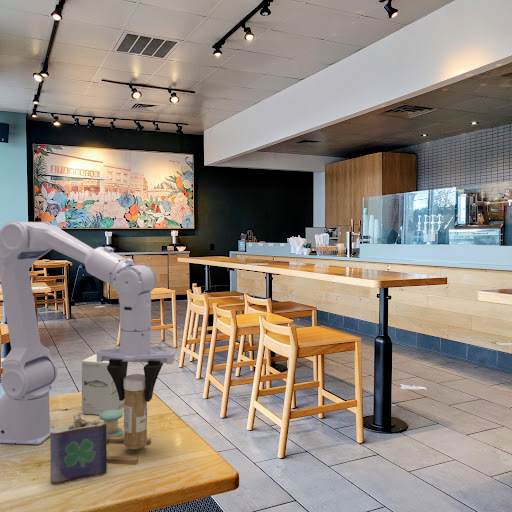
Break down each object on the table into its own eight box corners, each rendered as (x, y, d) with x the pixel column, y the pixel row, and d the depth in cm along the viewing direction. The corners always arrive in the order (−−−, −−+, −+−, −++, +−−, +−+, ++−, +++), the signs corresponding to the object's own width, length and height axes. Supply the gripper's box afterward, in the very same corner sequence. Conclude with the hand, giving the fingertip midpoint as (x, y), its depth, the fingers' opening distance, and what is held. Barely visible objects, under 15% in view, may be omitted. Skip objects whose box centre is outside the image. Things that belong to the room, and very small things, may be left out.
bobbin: (96, 438, 101) (95, 417, 101) (104, 429, 106) (104, 409, 106) (118, 439, 101) (117, 418, 101) (125, 430, 105) (125, 409, 105)
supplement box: (80, 414, 115) (80, 360, 114) (97, 403, 122) (97, 352, 121) (110, 417, 113) (109, 362, 112) (125, 406, 120) (125, 354, 120)
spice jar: (148, 448, 94) (148, 380, 93) (123, 451, 93) (123, 382, 92) (146, 437, 99) (147, 372, 97) (122, 439, 98) (123, 373, 96)
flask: (51, 486, 82) (50, 423, 82) (49, 478, 85) (49, 417, 85) (108, 474, 87) (107, 414, 86) (105, 467, 89) (104, 408, 89)
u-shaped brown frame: (84, 462, 91) (84, 457, 91) (104, 440, 101) (104, 436, 101) (135, 464, 90) (135, 460, 90) (151, 442, 100) (151, 438, 100)
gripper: (89, 332, 91) (90, 405, 91) (167, 334, 89) (167, 408, 90) (104, 324, 98) (104, 392, 98) (177, 326, 96) (176, 395, 97)
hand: (135, 399), depth 95 cm, fingers closed on spice jar, 4 cm apart
